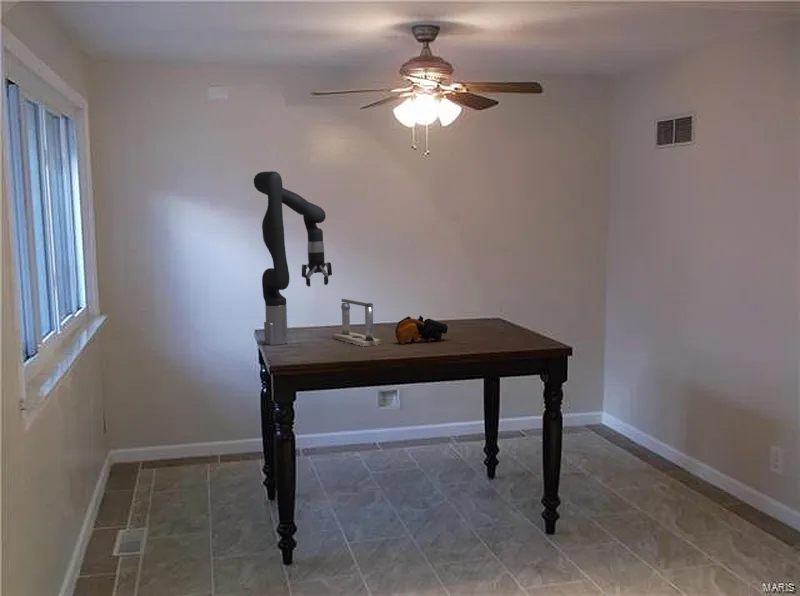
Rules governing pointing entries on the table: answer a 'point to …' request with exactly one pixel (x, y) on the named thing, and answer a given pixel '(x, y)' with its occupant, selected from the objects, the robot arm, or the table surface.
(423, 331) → the tool
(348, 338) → the hole board
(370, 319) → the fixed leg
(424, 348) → the table surface
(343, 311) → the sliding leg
